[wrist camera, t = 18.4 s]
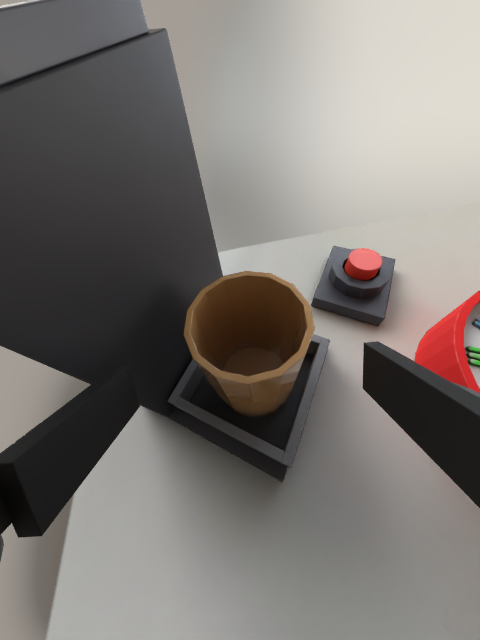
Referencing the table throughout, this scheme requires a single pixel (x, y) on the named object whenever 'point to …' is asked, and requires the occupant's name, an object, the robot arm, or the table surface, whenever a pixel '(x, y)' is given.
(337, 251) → the switch block
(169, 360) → the coffee maker
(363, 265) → the button
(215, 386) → the cup
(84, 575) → the table surface
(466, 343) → the toy clock
